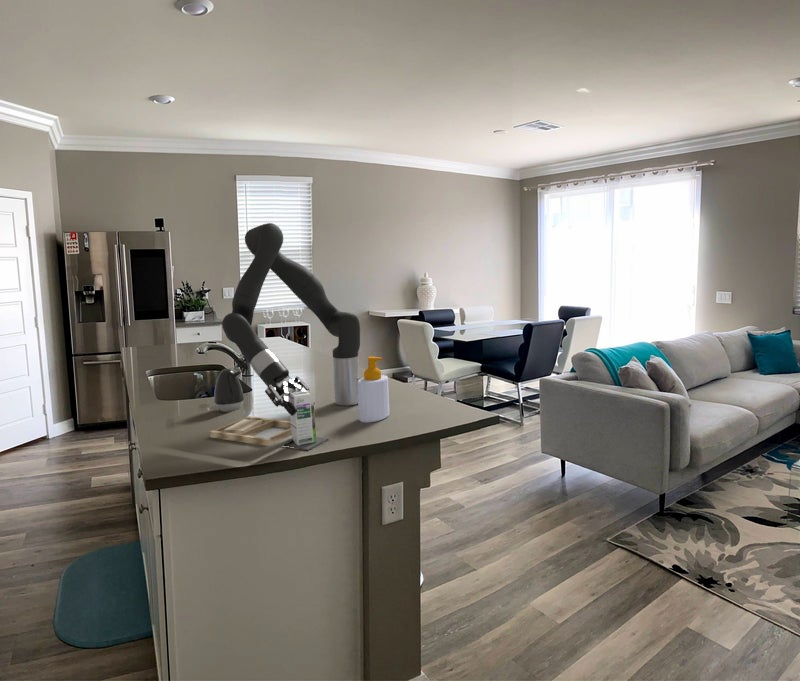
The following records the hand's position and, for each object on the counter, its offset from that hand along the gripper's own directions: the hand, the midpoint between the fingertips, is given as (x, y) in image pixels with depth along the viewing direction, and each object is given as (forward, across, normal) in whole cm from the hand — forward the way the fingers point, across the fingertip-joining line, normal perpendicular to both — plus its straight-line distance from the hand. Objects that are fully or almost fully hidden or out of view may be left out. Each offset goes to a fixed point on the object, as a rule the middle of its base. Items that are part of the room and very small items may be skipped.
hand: (303, 409), depth 165 cm
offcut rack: (-5, 0, +19) cm, 20 cm away
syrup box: (+6, 0, +7) cm, 10 cm away
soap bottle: (+11, +30, +3) cm, 32 cm away
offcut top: (-10, 0, +22) cm, 25 cm away
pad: (+7, 0, +7) cm, 10 cm away
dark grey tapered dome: (-27, +21, +41) cm, 53 cm away
